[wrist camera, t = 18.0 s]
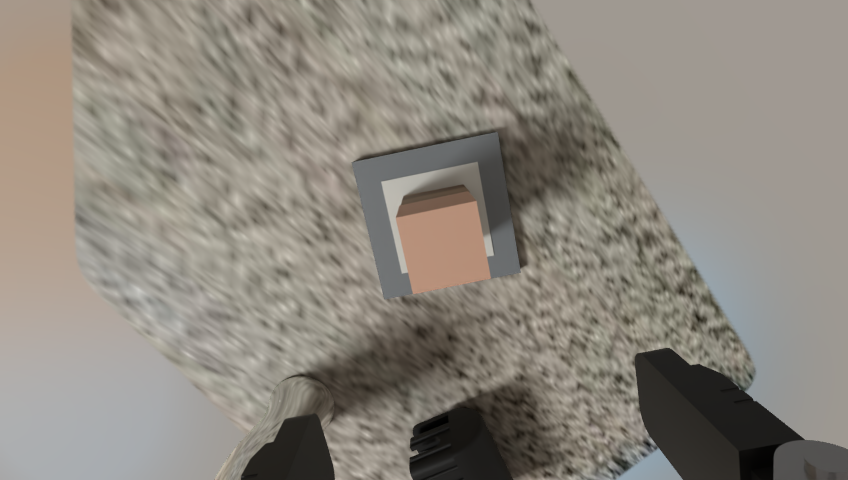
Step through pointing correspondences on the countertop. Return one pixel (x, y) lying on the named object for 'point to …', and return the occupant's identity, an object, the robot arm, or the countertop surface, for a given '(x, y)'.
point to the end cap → (456, 449)
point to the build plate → (434, 170)
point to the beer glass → (280, 419)
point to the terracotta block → (442, 242)
